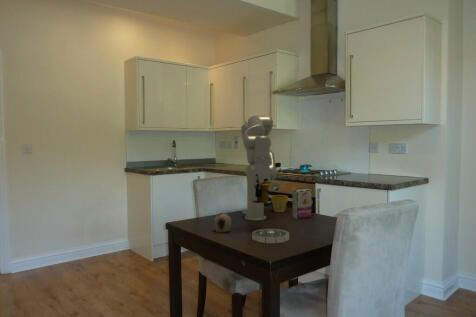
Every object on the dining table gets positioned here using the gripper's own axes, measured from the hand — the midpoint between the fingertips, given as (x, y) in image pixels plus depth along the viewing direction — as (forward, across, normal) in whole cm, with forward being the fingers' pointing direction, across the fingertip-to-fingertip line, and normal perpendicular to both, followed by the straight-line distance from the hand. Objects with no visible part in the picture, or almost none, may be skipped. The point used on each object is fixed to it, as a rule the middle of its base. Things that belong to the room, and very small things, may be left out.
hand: (262, 195), depth 191 cm
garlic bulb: (+18, +14, -14) cm, 26 cm away
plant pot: (+18, -48, -16) cm, 54 cm away
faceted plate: (+17, +12, +12) cm, 24 cm away
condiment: (+3, +1, 0) cm, 3 cm away
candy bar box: (+18, -39, +4) cm, 43 cm away
